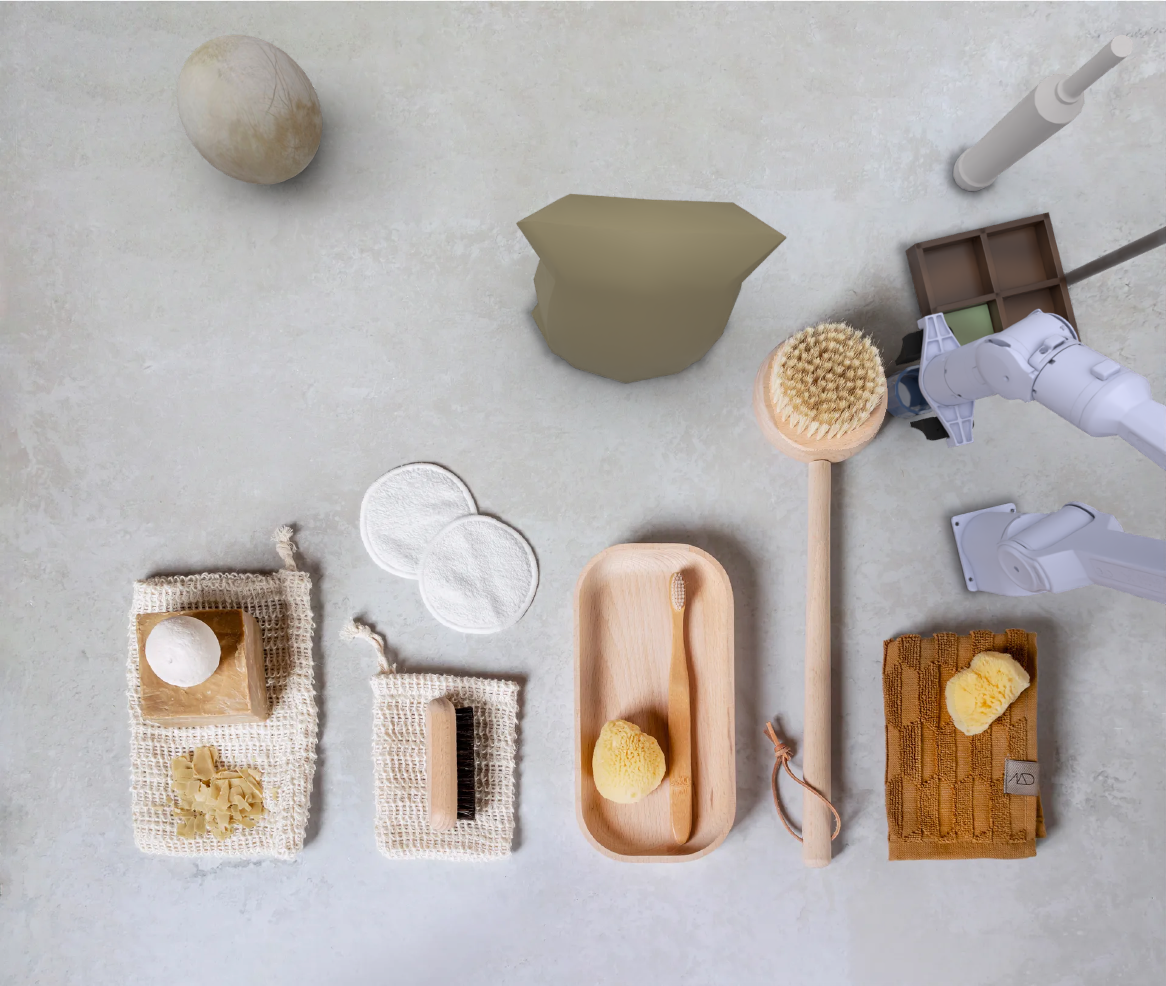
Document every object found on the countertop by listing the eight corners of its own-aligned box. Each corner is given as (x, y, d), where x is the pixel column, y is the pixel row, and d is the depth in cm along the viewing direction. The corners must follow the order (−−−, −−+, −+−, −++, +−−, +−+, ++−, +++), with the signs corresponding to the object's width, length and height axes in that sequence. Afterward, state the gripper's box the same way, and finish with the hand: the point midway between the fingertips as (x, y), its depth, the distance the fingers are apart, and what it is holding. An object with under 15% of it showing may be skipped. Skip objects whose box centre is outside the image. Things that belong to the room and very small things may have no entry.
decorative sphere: (266, 61, 90) (203, -28, 75) (364, 132, 90) (321, 57, 75) (194, 158, 90) (117, 89, 75) (292, 229, 90) (235, 174, 75)
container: (727, 257, 90) (801, 133, 60) (720, 392, 90) (792, 336, 60) (534, 246, 90) (512, 118, 60) (527, 382, 90) (501, 321, 60)
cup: (931, 412, 90) (949, 407, 85) (885, 423, 90) (901, 419, 85) (920, 366, 90) (938, 359, 85) (873, 377, 90) (889, 371, 85)
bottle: (1000, 166, 90) (1161, 37, 65) (978, 201, 90) (1131, 85, 65) (965, 143, 90) (1112, 6, 65) (943, 178, 90) (1082, 54, 65)
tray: (1083, 347, 90) (1258, 293, 67) (937, 381, 90) (1061, 339, 67) (1051, 216, 90) (1213, 117, 67) (905, 250, 90) (1017, 163, 67)
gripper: (1026, 431, 74) (956, 442, 88) (992, 294, 74) (928, 326, 88) (959, 447, 74) (900, 456, 88) (926, 309, 74) (872, 339, 88)
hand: (910, 392), depth 88 cm, fingers open, 7 cm apart
